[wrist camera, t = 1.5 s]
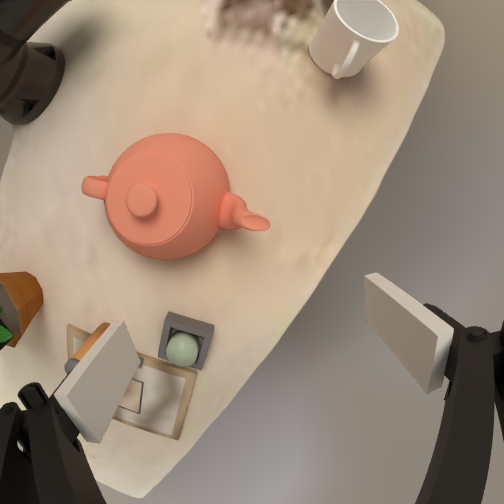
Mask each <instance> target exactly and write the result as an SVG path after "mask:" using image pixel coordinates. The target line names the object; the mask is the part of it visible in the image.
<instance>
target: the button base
mask: <svg viewBox="0 0 504 504" xmlns="http://www.w3.org/2000/svg"><path fill="white" fill-rule="evenodd" d="M172 328H175V329H178V330H181V331H185V332H188V333H191V334H195V335H198V336H202V337H204V338H203V341H202V345H201V348H200V352H199V354H197V358H196V361H195V362H194V363H193V364H192V365H190V366H189V367H192V368H196V369H199V370H202V368H203V364H204V361H205V358H206V354H207V351H208V348H209V344H210V341H211V338H212V334H213V329H214V325H212V324H209V323H205V322H202V321H198V320H195V319H192V318H188V317H185V316H182V315H178V314H175V313H172V312H168V314H167V316H166V318H165V321H164V326H163V331H162V336H161V341H160V346H159V352H158V357H159V358H162V359H166V360H169V359H168V358H167V356H166V348H167V345H168V343H169V340H170V335H171V330H172ZM169 361H170V360H169Z"/></svg>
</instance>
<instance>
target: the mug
mask: <svg viewBox="0 0 504 504" xmlns="http://www.w3.org/2000/svg"><path fill="white" fill-rule="evenodd" d="M398 30H399V28H398V23H397V20H396V18H395V16H394V15H393V13H392V12H391V11H390V10H389V8H388V7H387V6H385V5H384V4H383V3H382V2H381V1H379V0H334V2H333V3H332V5H331V7H330V9H329V11H328V12H327V14H326V16H325V18H324V20H323V22H322V23H321V25H320V27H319V29H318V31H317V33H316V34H315V35H314V36H313V37H312V38H311V40H310V43H309V53H310V55H311V58H312V59H313V61H314V62H315V64H316V65H317V66H318V67H319V68H321V69H322V70H323V71H325V72H327V73H329V74H331V75H332V76H333V77H334V78H335V79H340V78H341V77H351V76H354V75H356V74H357V73H358V72H360V70H361V69H362V67H363V66H364V65H365V64H366V63H367V62H368V61H369V60H371V59H372V58H373V57H374V56H375V55H376V54H378V53H379V52H380V51H381V50H382V49H383V48H385V47H386V46H387V45H388V44H389V43H390V42H392V41H393V40H394V39H395V38H396V37H397V35H398Z"/></svg>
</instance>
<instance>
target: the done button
mask: <svg viewBox="0 0 504 504" xmlns="http://www.w3.org/2000/svg"><path fill="white" fill-rule="evenodd" d="M198 350H199V341H198V339H197V337H196V336H195V335H194V334H191V333H188V332H185V331H177V332H175V333H174V334H173V335H172V336H171V338H170V341H169V343H168V345H167V348H166V356H167V358H168V359H169V360H170V361H171V362H172V363H173V364H175V365H177V366H181V367H187V366H190V365H192V364H193V363H194V362H195V361H196V358H197V354H198Z"/></svg>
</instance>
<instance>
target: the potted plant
mask: <svg viewBox="0 0 504 504" xmlns="http://www.w3.org/2000/svg"><path fill="white" fill-rule="evenodd" d="M42 304H43V294H42V288H41V287H40V285H39V283H38V281H37V279H36V278H35V277H34V276H32V275H31V274H29V273H27V272H12V273H0V350H1V349H2V348H3V347H4V346H5V345H8V346H11V347H14V348H15V346H16V344H17V343H18V341H19V340H20V338H21V337H22V335H23V333H24V332H25V330H26V328H27V327H28V325H29V324H30V322H31V320H32V319H33V317H34V316H35V314H36V313H37V311H38V310H39V308H40V307H41V305H42Z"/></svg>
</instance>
